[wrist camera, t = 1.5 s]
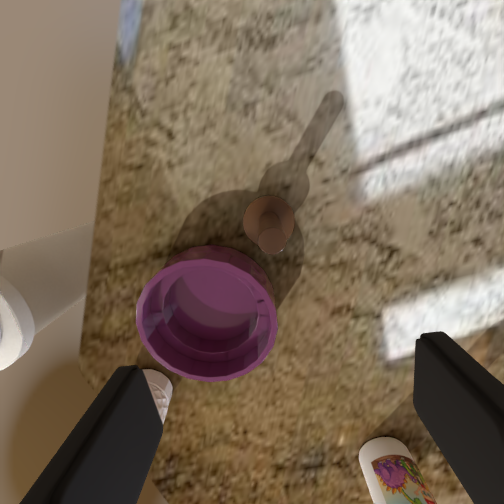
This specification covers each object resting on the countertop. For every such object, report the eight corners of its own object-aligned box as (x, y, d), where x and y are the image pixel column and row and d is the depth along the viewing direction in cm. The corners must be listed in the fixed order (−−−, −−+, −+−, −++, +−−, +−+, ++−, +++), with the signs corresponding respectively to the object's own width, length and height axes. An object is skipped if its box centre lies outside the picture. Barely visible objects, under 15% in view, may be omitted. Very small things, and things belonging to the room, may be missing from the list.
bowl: (170, 354, 36) (155, 386, 30) (142, 251, 31) (118, 268, 26) (279, 344, 35) (283, 376, 29) (267, 236, 30) (269, 251, 25)
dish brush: (247, 242, 30) (242, 277, 21) (241, 196, 29) (232, 210, 19) (293, 237, 30) (309, 269, 20) (289, 190, 28) (305, 201, 19)
